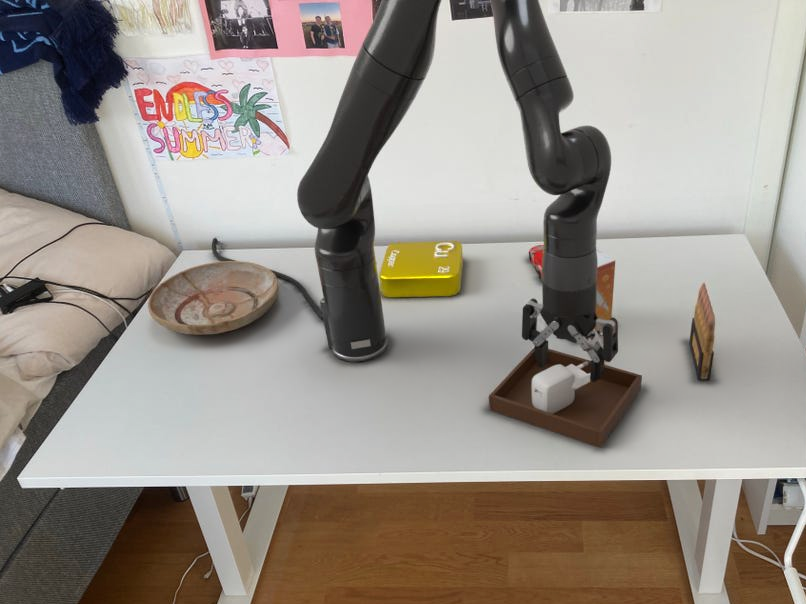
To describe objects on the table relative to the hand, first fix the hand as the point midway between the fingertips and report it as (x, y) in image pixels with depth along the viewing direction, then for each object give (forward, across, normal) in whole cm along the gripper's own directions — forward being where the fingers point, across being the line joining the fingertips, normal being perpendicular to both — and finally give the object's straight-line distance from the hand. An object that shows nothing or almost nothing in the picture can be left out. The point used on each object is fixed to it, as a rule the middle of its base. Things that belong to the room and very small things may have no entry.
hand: (568, 371), depth 117 cm
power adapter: (+5, 0, 0) cm, 5 cm away
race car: (+5, +21, -36) cm, 42 cm away
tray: (+5, 0, 0) cm, 5 cm away
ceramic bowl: (+5, +68, +6) cm, 69 cm away
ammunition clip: (+6, -14, -18) cm, 24 cm away
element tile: (+5, +42, -22) cm, 47 cm away
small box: (+5, +7, -20) cm, 21 cm away
